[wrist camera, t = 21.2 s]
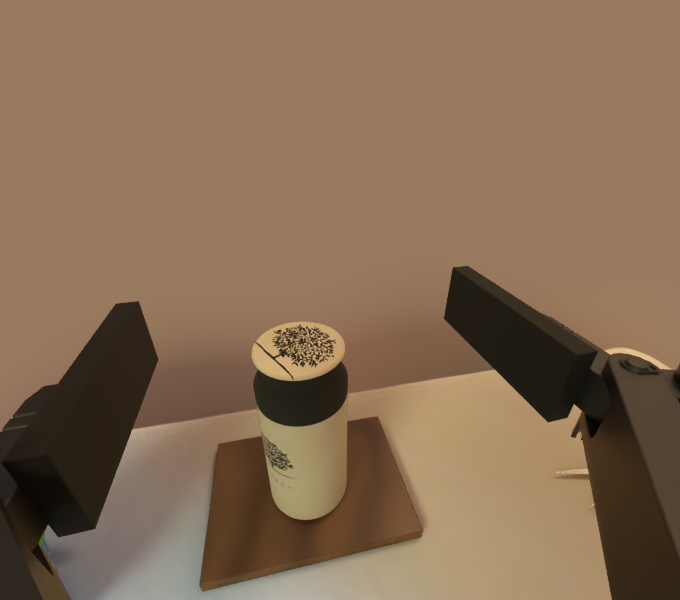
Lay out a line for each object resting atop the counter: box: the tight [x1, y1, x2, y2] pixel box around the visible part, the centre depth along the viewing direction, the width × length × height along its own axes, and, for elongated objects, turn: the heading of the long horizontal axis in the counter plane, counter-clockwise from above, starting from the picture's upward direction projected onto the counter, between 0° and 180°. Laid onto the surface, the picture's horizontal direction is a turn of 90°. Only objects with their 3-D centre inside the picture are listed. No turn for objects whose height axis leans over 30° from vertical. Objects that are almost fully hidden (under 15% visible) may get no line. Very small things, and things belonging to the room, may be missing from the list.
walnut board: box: [200, 416, 423, 591], centre depth 35 cm, size 20×14×1 cm
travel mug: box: [252, 322, 348, 520], centre depth 31 cm, size 8×8×18 cm
